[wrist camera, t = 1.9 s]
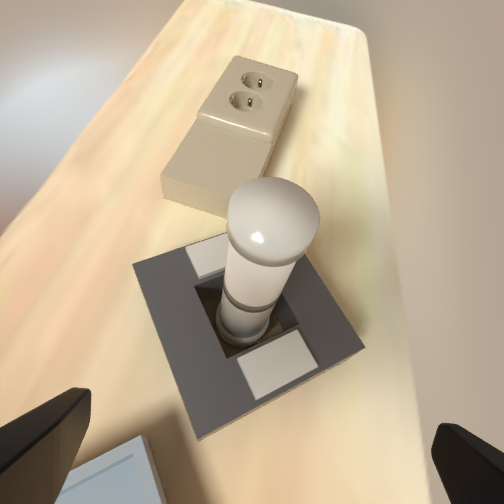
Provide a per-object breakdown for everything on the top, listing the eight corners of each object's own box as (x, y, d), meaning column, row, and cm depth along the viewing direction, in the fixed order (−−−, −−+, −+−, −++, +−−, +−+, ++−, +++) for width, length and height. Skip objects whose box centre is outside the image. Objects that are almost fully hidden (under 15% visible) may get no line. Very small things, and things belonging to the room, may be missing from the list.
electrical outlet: (159, 165, 25) (234, 52, 35) (164, 201, 29) (231, 89, 38) (249, 194, 25) (300, 72, 35) (243, 226, 28) (291, 107, 38)
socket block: (347, 359, 23) (368, 345, 20) (197, 441, 19) (197, 439, 17) (271, 237, 28) (279, 211, 25) (139, 284, 24) (131, 261, 21)
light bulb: (275, 333, 23) (337, 232, 13) (228, 356, 22) (254, 263, 12) (252, 290, 25) (290, 168, 14) (207, 309, 24) (213, 190, 13)
